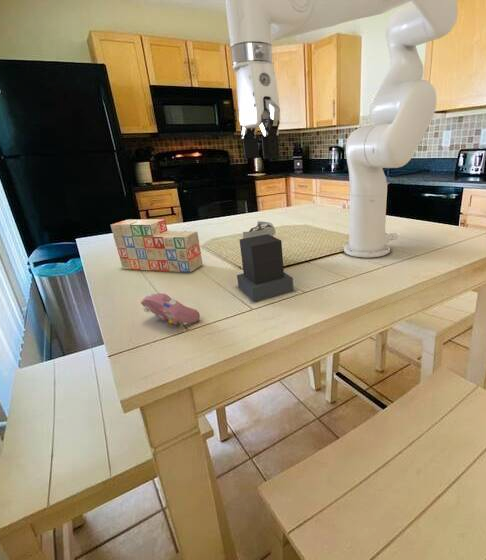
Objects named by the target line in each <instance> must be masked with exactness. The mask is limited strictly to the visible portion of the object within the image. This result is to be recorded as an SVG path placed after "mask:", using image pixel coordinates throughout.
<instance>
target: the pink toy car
mask: <svg viewBox="0 0 486 560" xmlns="http://www.w3.org/2000/svg"><path fill="white" fill-rule="evenodd" d="M140 304H141V305H142V307H143V308H142V309H143V311H144V312H145V313H147V314H149V313H152V314H154V315H155V316H156V317H158V318H159V319H160V320H162V321H164V322H165V321H168V323H169V324H173V325H175V326H177V325H178V324H179V323H180V322H182V323H185V324H193V323H196V322H198V321H199V320H200V317H201V315H200V312H199V311H198V310H197V309H195V308H191V307H189V306H186V305H184V304H183V303H181V302H179V301H178V300H177V299H174V298H172V297H170V295H168V294H166V293H162V292H160V293H153V292H150V293H149V295H146V296H145V297H144V298H143V299H142V300H141V301H140Z"/></svg>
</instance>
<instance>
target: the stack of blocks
mask: <svg viewBox="0 0 486 560" xmlns="http://www.w3.org/2000/svg"><path fill="white" fill-rule="evenodd" d="M110 228H111V233H112V235H113V239H114V244H115V246H116V249H117V254H118V255H119V260H120V264H121V267H122V269H123V270H134V271H155V272H156V271H158V272H159V271H161V272H176V273H191V272H194V271H195V270H197V269H198V268H199V267H202V266H203V265H204V264H203V258H202V251H201V246H200V239H199V234H198V233H199V232H198V231H197V230H168V227H167V222H166V219H164V218H163V219H162V218H161V219H157V218H156V219H151V218H150V219H149V218H148V219H147V218H146V219H125V220H121V221H119V222H115V223H112V224H110Z"/></svg>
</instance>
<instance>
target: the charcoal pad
mask: <svg viewBox="0 0 486 560" xmlns="http://www.w3.org/2000/svg"><path fill="white" fill-rule="evenodd" d="M241 263H242V270H243V272H242V273H244V276H246V277H247V278H248V279H249V280H250V281H252V282H253V283H254V284H255V285H256V284H260V283H264V282H268V281H272V280H275V279H279V278H283V277H284V273H285V271H284V270H285V269H284V258H283V259H281V260H277V261H273V262H268V263H264V264H260V265H255V266H253V265H251V264H250V263H249V262H247V261H246V260H244V259H243V258H242V257H241Z"/></svg>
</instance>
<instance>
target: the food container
mask: <svg viewBox="0 0 486 560" xmlns="http://www.w3.org/2000/svg"><path fill="white" fill-rule="evenodd" d="M276 232H277V231H276V229H275V226H274V224H273V223H272V222H269V221H261V220H260V221H259V220H257V224H256V226H254V227H251V229H250V230H249V231H242V239H244V238H250V237H255V236H260V235H266V234H269V235H271V236H273V237H274V235H275V234H277V233H276Z"/></svg>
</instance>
